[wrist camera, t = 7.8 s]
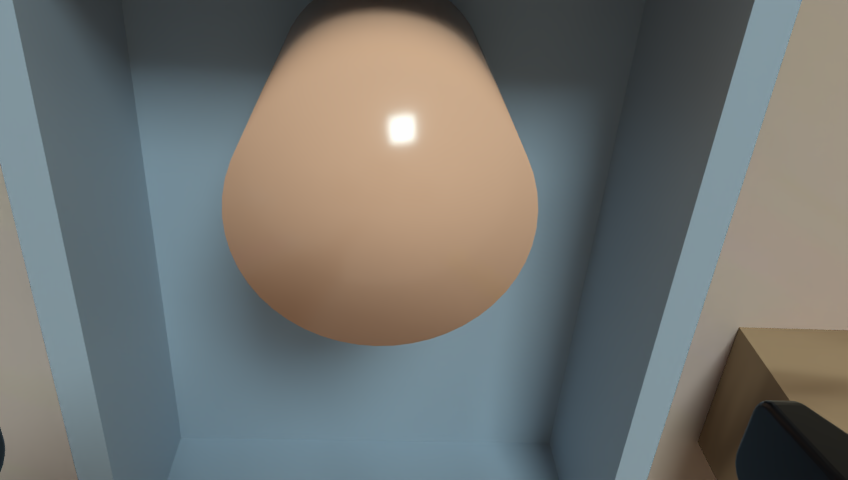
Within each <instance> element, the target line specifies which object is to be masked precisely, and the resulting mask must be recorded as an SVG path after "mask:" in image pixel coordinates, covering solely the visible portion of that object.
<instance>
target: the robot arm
mask: <svg viewBox="0 0 848 480" xmlns="http://www.w3.org/2000/svg"><path fill="white" fill-rule="evenodd" d="M4 456H5V443H4V439H3V435H2V432H1V429H0V471H1V468H2V465H3V461H4ZM735 467H736V474H737V478H738V480H848V434H847V433H846V432H844V431H843V430H841V429H840V428H838V427H837V426H835V425H834V424H832V423H831V422H829V421H828V420H827V419H825V418H824V417H822V416H821V415H819V414H818V413H816V412H815V411H813V410H812V409H810V408H809V407H807V406H806V405H804V404H802V403H800V402H796V401H776V400H766V401H762V402H760V403H759V404H758V405H757V406H756V407H755V409H754V411H753V413H752V416H751V418H750V420H749V423H748V425H747V428H746V430H745V433H744V435H743V438H742V440H741V443H740V445H739V448H738V450H737V454H736V460H735Z"/></svg>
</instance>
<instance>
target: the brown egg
mask: <svg viewBox="0 0 848 480" xmlns="http://www.w3.org/2000/svg"><path fill="white" fill-rule="evenodd" d="M537 218H538V196H537V188H536V183H535V178H534V174H533V171H532V168H531V165H530V163H529V160H528V157H527V155H526V152H525V150H524V148H523V145H522V143H521V140H520V138H519V136H518V133H517V131H516V129H515V126H514V124H513V122H512V119H511V117H510V114H509V112H508V110H507V107H506V105H505V103H504V100H503V98H502V95H501V93H500V91H499V88H498V86H497V84H496V81H495V79H494V77H493V74H492V72H491V69H490V67H489V65H488V62H487V60H486V58H485V55H484V53H483V51H482V48H481V46H480V43H479V41H478V39H477V36H476V35H475V33H474V31H473V29H472V27H471V25H470V24H469V22H468V21H467V19H466V18H465V17H464V15H463V14H462V13H461V12H460V11H459V10H458V8H457V7H456V6H455V5H454V4H453V3H452V2H450V1H449V0H313V1H311V2H310V3H309V4H308V5H307V6H306V7H305V8H304V10H303V11H302V12H301V13H300V14H299V16H298V17H297V18H296V20H295V21H294V23H293V24H292V26H291V28H290V30H289V32H288V34H287V36H286V38H285V41H284V43H283V45H282V47H281V49H280V52H279V54H278V56H277V58H276V60H275V63H274V65H273V67H272V69H271V72H270V74H269V76H268V78H267V80H266V83H265V85H264V87H263V89H262V92H261V94H260V96H259V98H258V100H257V103H256V105H255V107H254V109H253V111H252V114H251V116H250V118H249V120H248V123H247V125H246V127H245V129H244V131H243V134H242V136H241V138H240V140H239V142H238V145H237V147H236V149H235V151H234V154H233V156H232V158H231V160H230V163H229V167H228V170H227V173H226V176H225V180H224V187H223V193H222V219H223V226H224V232H225V236H226V240H227V243H228V246H229V249H230V252H231V254H232V256H233V258H234V261H235V263H236V265H237V267H238V269H239V270H240V272H241V273H242V275H243V276H244V278H245V280H246V281H247V283H248V284H249V285H250V286H251V287H252V289H253V290H254V291H255V292H256V293H257V294H258V296H259V297H260V298H261V299H262V300H264V301H265V302H266V303H267V304H268V305H269V306H270V307H271V308H272V309H274V310H275V311H276V312H278V313H279V314H280V315H282V316H283V317H285V318H286V319H287V320H289V321H291V322H293V323H295V324H296V325H298V326H300V327H302V328H304V329H306V330H308V331H311V332H313V333H315V334H318V335H320V336H323V337H326V338H330V339H333V340H336V341H340V342H346V343H351V344H357V345H368V346H395V345H403V344H411V343H416V342H420V341H424V340H429V339H432V338H435V337H438V336H441V335H444V334H446V333H449V332H451V331H453V330H455V329H457V328H459V327H461V326H463V325H465V324H467V323H468V322H470V321H472V320H473V319H475V318H476V317H478V316H480V315H481V314H482V313H483V312H485V311H486V310H487V309H488V308H490V307H491V306H492V305H493V304H494V303H495V302H496V301H497V300H498V299H499V298H500V297H501V296H502V295H503V294H504V293H505V292H506V291H507V290H508V288H509V287H510V286H511V284H512V283H513V282H514V281H515V279H516V278H517V276H518V275H519V273H520V271H521V269H522V268H523V266H524V264H525V262H526V260H527V257H528V255H529V252H530V250H531V247H532V245H533V240H534V236H535V232H536V228H537Z"/></svg>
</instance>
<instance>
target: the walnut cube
mask: <svg viewBox="0 0 848 480" xmlns="http://www.w3.org/2000/svg"><path fill="white" fill-rule="evenodd" d="M766 400H776V401H796V402H800V403H802V404H804V405H806V406H807V407H809V408H810V409H812V410H813V411H815V412H816V413H818V414H819V415H821V416H822V417H824V418H825V419H827V420H828V421H829V422H831V423H832V424H834V425H835V426H837V427H838V428H840V429H841V430H843V431H844V432H846V433H847V434H848V330H813V329H778V328H743V327H739V330H738V332H737V335H736V338H735V341H734V344H733V346H732V349H731V352H730V355H729V357H728V360H727V363H726V366H725V368H724V371H723V374H722V377H721V379H720V382H719V385H718V388H717V390H716V393H715V396H714V399H713V402H712V404H711V407H710V410H709V413H708V415H707V418H706V421H705V424H704V426H703V429H702V432H701V435H700V437H699V440H698V443H699V445H700V447H701V449H702V451H703V453H704V455H705V457H706V459H707V461H708V463H709V465H710V467H711V469H712V471H713V473H714V475H715V477H716V479H717V480H738V478H737V474H736V467H735V460H736V454H737V450H738V448H739V445H740V443H741V440H742V438H743V435H744V433H745V430H746V428H747V425H748V423H749V420H750V418H751V416H752V413H753V411H754V409H755V407H756V406H757V405H758V404H759V403H760V402H762V401H766Z"/></svg>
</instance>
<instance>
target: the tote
mask: <svg viewBox="0 0 848 480" xmlns="http://www.w3.org/2000/svg"><path fill="white" fill-rule="evenodd" d="M311 1H313V0H0V164H1V168H2V172H3V176H4V180H5V184H6V188H7V192H8V196H9V200H10V204H11V208H12V213H13V217H14V221H15V225H16V229H17V233H18V237H19V241H20V245H21V249H22V253H23V257H24V261H25V265H26V270H27V274H28V278H29V282H30V286H31V290H32V294H33V298H34V302H35V306H36V310H37V314H38V318H39V322H40V327H41V331H42V335H43V339H44V343H45V347H46V351H47V355H48V359H49V363H50V367H51V371H52V375H53V379H54V383H55V388H56V392H57V396H58V400H59V404H60V408H61V412H62V416H63V420H64V424H65V428H66V432H67V436H68V440H69V445H70V449H71V453H72V457H73V461H74V465H75V469H76V473H77V477H78V480H647V478H648V474H649V471H650V468H651V465H652V462H653V459H654V456H655V453H656V450H657V447H658V444H659V440H660V437H661V434H662V431H663V428H664V425H665V422H666V419H667V416H668V413H669V409H670V406H671V403H672V400H673V397H674V394H675V391H676V388H677V385H678V382H679V379H680V375H681V372H682V369H683V366H684V363H685V360H686V357H687V354H688V351H689V348H690V345H691V341H692V338H693V335H694V332H695V329H696V326H697V323H698V320H699V317H700V314H701V311H702V307H703V304H704V301H705V298H706V295H707V292H708V289H709V286H710V283H711V280H712V277H713V273H714V270H715V267H716V264H717V261H718V258H719V255H720V252H721V249H722V246H723V243H724V239H725V236H726V233H727V230H728V227H729V224H730V221H731V218H732V215H733V212H734V209H735V205H736V202H737V199H738V196H739V193H740V190H741V187H742V184H743V181H744V178H745V174H746V171H747V168H748V165H749V162H750V159H751V156H752V153H753V150H754V147H755V144H756V140H757V137H758V134H759V131H760V128H761V125H762V122H763V119H764V116H765V113H766V110H767V106H768V103H769V100H770V97H771V94H772V91H773V88H774V85H775V82H776V79H777V76H778V72H779V69H780V66H781V63H782V60H783V57H784V54H785V51H786V48H787V45H788V42H789V38H790V35H791V32H792V29H793V26H794V23H795V20H796V17H797V14H798V11H799V8H800V4H801V1H802V0H449V1H450V2H452V3H453V4H454V5H455V6H456V7H457V8H458V10H459V11H460V12H461V13H462V14H463V15H464V17H465V18H466V19H467V21H468V22H469V24H470V25H471V27H472V29H473V31H474V33H475V35H476V36H477V39H478V41H479V43H480V46H481V48H482V51H483V53H484V55H485V58H486V60H487V62H488V65H489V67H490V69H491V72H492V74H493V77H494V79H495V81H496V84H497V86H498V88H499V91H500V93H501V95H502V98H503V100H504V103H505V105H506V107H507V110H508V112H509V114H510V117H511V119H512V122H513V124H514V126H515V129H516V131H517V133H518V136H519V138H520V140H521V143H522V145H523V148H524V150H525V152H526V155H527V157H528V160H529V163H530V165H531V168H532V171H533V174H534V178H535V183H536V188H537V196H538V218H537V228H536V232H535V236H534V240H533V245H532V247H531V250H530V252H529V255H528V257H527V260H526V262H525V264H524V266H523V268H522V269H521V271H520V273H519V275H518V276H517V278H516V279H515V281H514V282H513V283H512V284H511V286H510V287H509V288H508V290H507V291H506V292H505V293H504V294H503V295H502V296H501V297H500V298H499V299H498V300H497V301H496V302H495V303H494V304H493V305H492V306H491V307H490V308H488V309H487V310H486V311H485V312H483V313H482V314H481V315H480V316H478V317H476V318H475V319H473V320H472V321H470V322H468V323H467V324H465V325H463V326H461V327H459V328H457V329H455V330H453V331H451V332H449V333H446V334H444V335H441V336H438V337H435V338H432V339H429V340H424V341H420V342H416V343H411V344H403V345H395V346H368V345H357V344H351V343H346V342H340V341H336V340H333V339H330V338H326V337H323V336H320V335H318V334H315V333H313V332H311V331H308V330H306V329H304V328H302V327H300V326H298V325H296V324H295V323H293V322H291V321H289V320H287V319H286V318H285V317H283V316H282V315H280V314H279V313H278V312H276V311H275V310H274V309H272V308H271V307H270V306H269V305H268V304H267V303H266V302H265V301H264V300H262V299H261V298H260V297H259V296H258V294H257V293H256V292H255V291H254V290H253V289H252V287H251V286H250V285H249V284H248V283H247V281H246V280H245V278H244V276H243V275H242V273H241V272H240V270H239V269H238V267H237V265H236V263H235V261H234V258H233V256H232V254H231V252H230V249H229V246H228V243H227V240H226V236H225V232H224V226H223V219H222V193H223V187H224V180H225V176H226V173H227V170H228V167H229V163H230V160H231V158H232V156H233V154H234V151H235V149H236V147H237V145H238V142H239V140H240V138H241V136H242V134H243V131H244V129H245V127H246V125H247V123H248V120H249V118H250V116H251V114H252V111H253V109H254V107H255V105H256V103H257V100H258V98H259V96H260V94H261V92H262V89H263V87H264V85H265V83H266V80H267V78H268V76H269V74H270V72H271V69H272V67H273V65H274V63H275V60H276V58H277V56H278V54H279V52H280V49H281V47H282V45H283V43H284V41H285V38H286V36H287V34H288V32H289V30H290V28H291V26H292V24H293V23H294V21H295V20H296V18H297V17H298V16H299V14H300V13H301V12H302V11H303V10H304V8H305V7H306V6H307V5H308V4H309V3H310V2H311Z"/></svg>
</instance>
